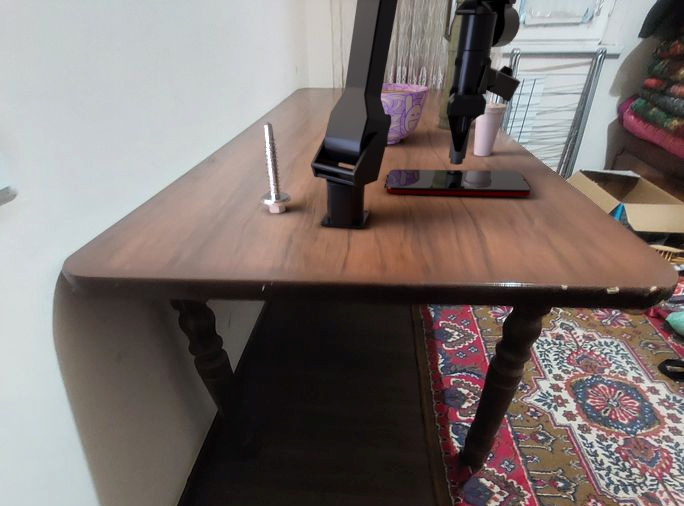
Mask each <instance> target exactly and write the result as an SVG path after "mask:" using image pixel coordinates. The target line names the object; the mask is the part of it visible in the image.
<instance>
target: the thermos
mask: <svg viewBox="0 0 684 506" xmlns="http://www.w3.org/2000/svg"><path fill="white" fill-rule="evenodd" d="M453 2H454V1H453V0H446V9H445V10H446V11H445V18H444V26H443V35H442V36H443V38H444V39H445V40H446V41H447V42H448V43H447V55H448V57H447V65H446V73H445V81H444V88H443V93H442V96H441V98H440V103H439V104H440V105H439V113H438V118H439V119H438V125H437V127H438V128H439V129H444V130H450V125H449V121H448V116H447V114H446V111H447V104H448V98H449V92H450V88H451V86H452V79H453V71H454V64H455V57H456V50H457V43H458V35H459V28H460V21H461V15H456V10H457V9H458V7H459V6H460V5H461V4H462V3H463V2H464V0H455V5H456V6H455V10H454V13H453V14H454V15H453V18H452V21H451V16H452V8H453Z"/></svg>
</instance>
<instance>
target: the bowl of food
mask: <svg viewBox="0 0 684 506" xmlns="http://www.w3.org/2000/svg"><path fill="white" fill-rule="evenodd" d="M429 89H430V87H429V86H425V85H422V84H414V83H398V82H396V83H393V82H391V83H389V82H388V83H384V82H383V87H382V92H381V101H382V104H383V108H384V111H385V114H390V115H391V126H390V129H389V133H388V145H394V144H399V143H400V141H401V140H402V139H406V138H407V137H409V136H411V135H412V134H413V133H414V131H416V129H417V127H418V125H419V122H420V119H421V116H422V113H423V110H424V106H425V103H426V100H427V97H428V93H429Z"/></svg>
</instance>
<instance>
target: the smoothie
mask: <svg viewBox="0 0 684 506" xmlns="http://www.w3.org/2000/svg"><path fill="white" fill-rule="evenodd" d="M494 97H495V94H494V93H491V95H490V98H489V102H486V108H485V113H484V115H480V116H479V117H477V118H476V119H475V129H474V131H475V132H474V143H473V155H474V156H476V157H477V156H478V157H488V156H491V154H492V151H493V148H494V145H495V142H496V140H497V136H498V133H499V130H500V127H501V124H502V120H503V117H504V114H505V113H506V112H507V109H508V108H507V107H508V105H507V104H505V103H501V102H500V103H499V102H494Z"/></svg>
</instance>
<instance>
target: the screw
mask: <svg viewBox="0 0 684 506" xmlns="http://www.w3.org/2000/svg"><path fill="white" fill-rule="evenodd" d="M263 135H264V147H263V148H264V149H265V151H264V152H265V155H264V156H265V158H266V159H265V161H266V164H265V165H266V166H267V167H266V169H267V172H266V173H267V174H268V175H267V177H268V179H267V181H268V182H269V183H268V185H269V187H268V189H269V191H268V192H267V193H264V194H263V195H262V197H260V202H261V203H262V204H264V205H267V206H268V211H269V212H270V213H271V214H282V213H284V212H286V204H288V203H289V202H291V201H292V197H291V195H290V194H289V193H288V192H284V191H281V190H282V188H281V184H280V182H281V180H280V176H279V175H280V172H279V171H280V169H279V164H278V162H279V160H278V158H279V157H278V156H277V155H278V152H277V150H278V148H277V147H276V146H277V143H276V139H275V137H274V135H275V134H274V128H273V124H272V123H271V122H269V121H266V123H264V125H263Z"/></svg>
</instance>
